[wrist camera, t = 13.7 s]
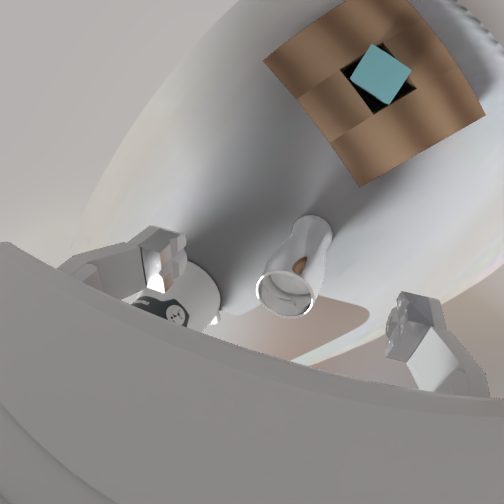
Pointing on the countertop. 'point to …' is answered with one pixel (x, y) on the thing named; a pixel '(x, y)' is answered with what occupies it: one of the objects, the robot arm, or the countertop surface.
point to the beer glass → (296, 269)
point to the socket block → (349, 100)
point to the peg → (380, 74)
